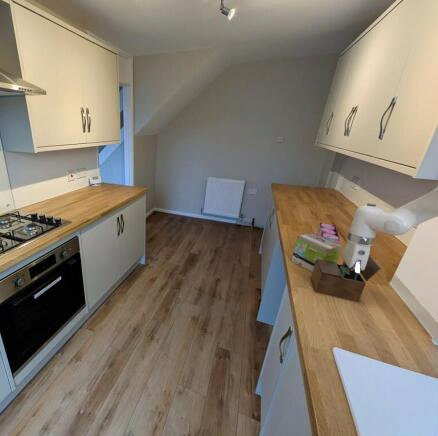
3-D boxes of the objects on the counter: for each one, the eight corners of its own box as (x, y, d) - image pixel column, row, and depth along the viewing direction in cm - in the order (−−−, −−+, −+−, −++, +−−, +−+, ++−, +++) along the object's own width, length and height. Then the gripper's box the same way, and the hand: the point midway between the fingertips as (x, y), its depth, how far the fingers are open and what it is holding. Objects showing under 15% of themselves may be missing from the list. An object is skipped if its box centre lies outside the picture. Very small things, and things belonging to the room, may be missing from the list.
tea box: (290, 261, 120) (296, 235, 115) (304, 258, 124) (311, 232, 119) (319, 277, 107) (328, 248, 102) (334, 273, 110) (343, 245, 105)
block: (350, 278, 97) (354, 268, 95) (354, 284, 93) (357, 274, 91) (337, 275, 98) (340, 266, 97) (340, 281, 95) (343, 271, 93)
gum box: (313, 242, 141) (319, 221, 137) (329, 246, 137) (336, 224, 133) (314, 259, 122) (321, 235, 118) (333, 264, 118) (341, 239, 114)
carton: (348, 286, 101) (355, 265, 98) (357, 303, 91) (366, 281, 88) (310, 278, 107) (316, 258, 103) (315, 293, 97) (322, 272, 93)
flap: (355, 266, 98) (356, 266, 98) (366, 281, 88) (366, 281, 88) (367, 253, 95) (368, 254, 95) (380, 267, 85) (381, 268, 85)
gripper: (382, 249, 81) (365, 294, 87) (364, 232, 95) (350, 271, 101) (355, 245, 84) (340, 288, 90) (341, 228, 98) (329, 267, 104)
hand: (345, 278), depth 96 cm, fingers closed on block, 4 cm apart
